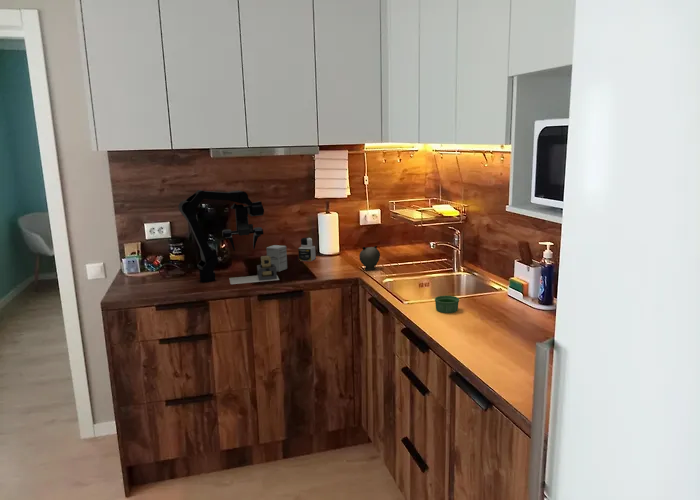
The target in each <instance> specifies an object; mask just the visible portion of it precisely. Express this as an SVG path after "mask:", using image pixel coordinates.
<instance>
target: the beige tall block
mask: <svg viewBox="0 0 700 500" xmlns="http://www.w3.org/2000/svg"><path fill="white" fill-rule="evenodd" d="M260 265H261V267H262V268H268V267H271V257H270V256H267V255H261V256H260ZM271 272H272V271H265V272H262V276H272V273H271Z"/></svg>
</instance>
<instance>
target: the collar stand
mask: <svg viewBox="0 0 700 500" xmlns="http://www.w3.org/2000/svg"><path fill="white" fill-rule="evenodd" d="M256 271H257V274H256V276H257V275H258V279H259V281H260V280H271V279H277V276H278V274H277V271H276V266H275V265H274V264H271V267H268V268H262V267H261V264H257V265H256ZM265 271H271V273H272V276H262V272H265Z"/></svg>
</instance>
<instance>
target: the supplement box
mask: <svg viewBox="0 0 700 500" xmlns="http://www.w3.org/2000/svg"><path fill="white" fill-rule="evenodd" d="M265 249H266V256H270V257H271V264H274V265H275V266H276V272H281V271H282V272H283V271H284V270H287V269H288V256H287V255H288V254H287V246H286V245H278V244H273V245H270V246H267V247H266V248H265Z"/></svg>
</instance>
